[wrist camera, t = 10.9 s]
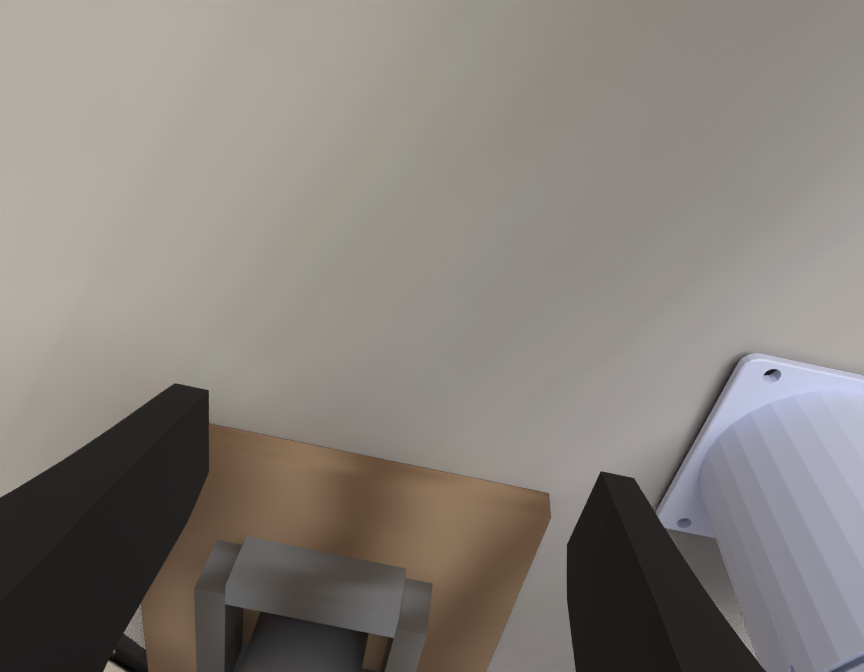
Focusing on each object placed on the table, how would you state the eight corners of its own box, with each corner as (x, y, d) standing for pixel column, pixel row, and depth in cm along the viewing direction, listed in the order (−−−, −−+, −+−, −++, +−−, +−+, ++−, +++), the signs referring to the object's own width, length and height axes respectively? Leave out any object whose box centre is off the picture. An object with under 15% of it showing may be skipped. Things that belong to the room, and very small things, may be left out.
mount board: (549, 493, 25) (554, 570, 22) (454, 724, 34) (450, 798, 31) (138, 409, 24) (87, 475, 21) (160, 665, 34) (128, 735, 31)
